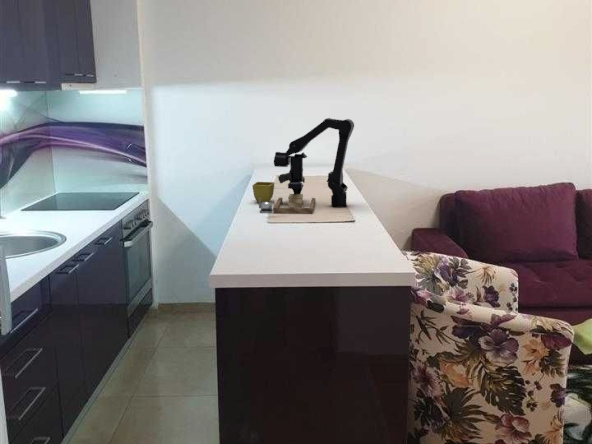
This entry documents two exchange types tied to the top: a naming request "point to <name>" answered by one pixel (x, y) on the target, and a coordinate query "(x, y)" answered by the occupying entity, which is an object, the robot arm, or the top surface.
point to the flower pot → (263, 191)
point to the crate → (295, 200)
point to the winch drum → (265, 206)
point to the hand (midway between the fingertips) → (296, 200)
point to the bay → (293, 210)
